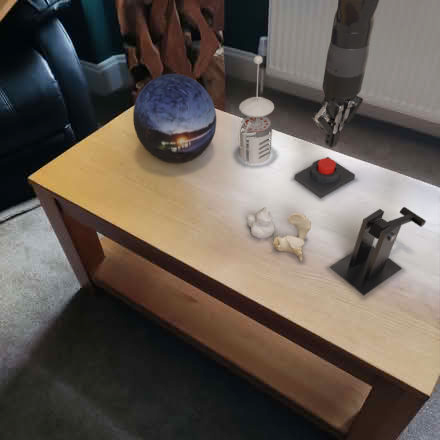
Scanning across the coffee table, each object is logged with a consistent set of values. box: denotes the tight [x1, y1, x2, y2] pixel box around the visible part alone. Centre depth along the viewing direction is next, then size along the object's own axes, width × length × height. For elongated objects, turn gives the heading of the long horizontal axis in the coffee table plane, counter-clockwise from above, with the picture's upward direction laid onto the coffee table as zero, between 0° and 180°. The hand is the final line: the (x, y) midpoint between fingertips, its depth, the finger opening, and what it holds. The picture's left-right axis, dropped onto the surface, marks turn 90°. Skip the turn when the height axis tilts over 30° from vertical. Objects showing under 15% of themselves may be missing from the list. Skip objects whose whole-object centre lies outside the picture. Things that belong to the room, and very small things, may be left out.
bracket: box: [329, 208, 403, 297], centre depth 81 cm, size 11×9×14 cm
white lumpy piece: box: [246, 206, 276, 239], centre depth 91 cm, size 5×7×8 cm
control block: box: [293, 156, 356, 200], centre depth 102 cm, size 11×9×4 cm
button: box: [317, 157, 336, 175], centre depth 100 cm, size 4×4×2 cm
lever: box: [368, 206, 427, 240], centre depth 80 cm, size 13×5×2 cm, turn 126°
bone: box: [272, 212, 312, 262], centre depth 88 cm, size 9×6×10 cm
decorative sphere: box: [132, 73, 217, 164], centre depth 104 cm, size 20×20×20 cm
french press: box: [237, 55, 275, 165], centre depth 100 cm, size 10×12×25 cm
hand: (331, 145), depth 96 cm, fingers closed
